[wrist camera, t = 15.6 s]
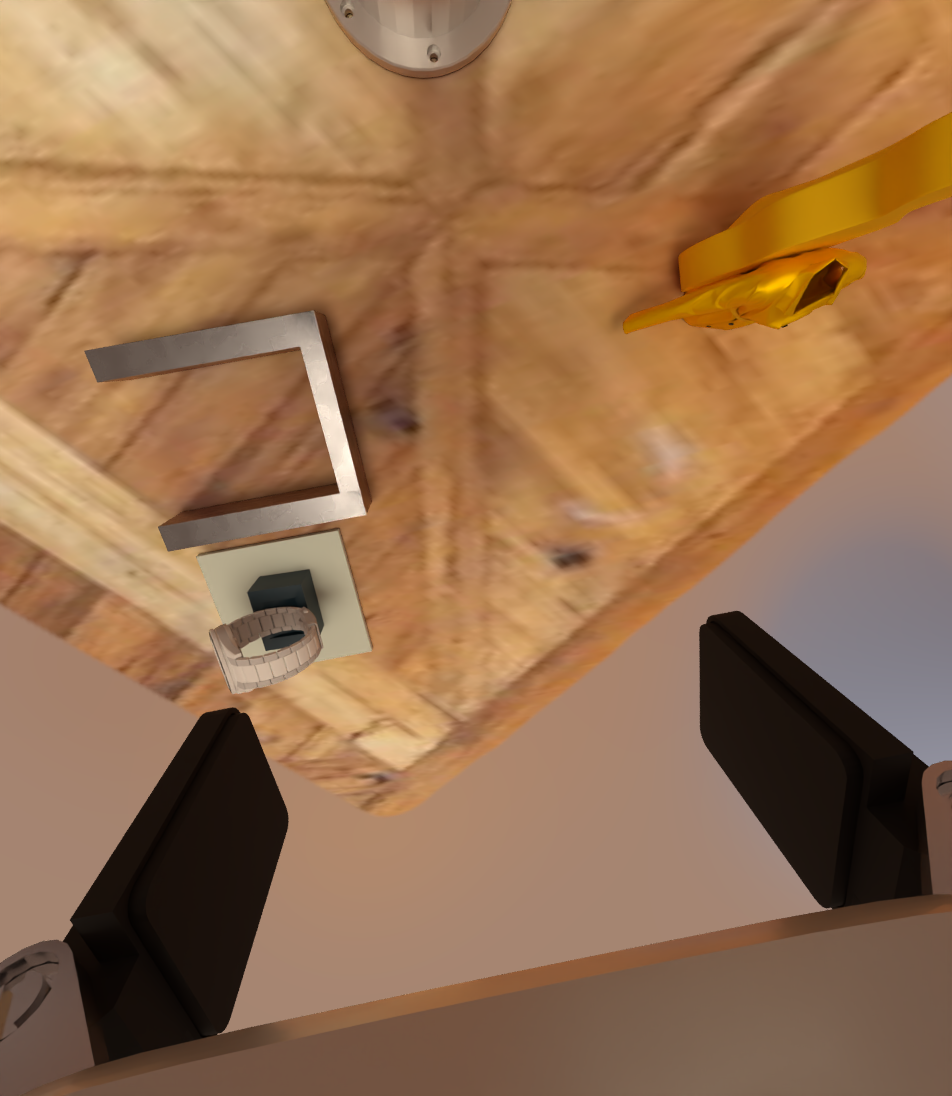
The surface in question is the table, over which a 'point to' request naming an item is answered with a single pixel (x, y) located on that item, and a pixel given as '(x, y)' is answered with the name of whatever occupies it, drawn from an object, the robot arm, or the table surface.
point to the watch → (272, 632)
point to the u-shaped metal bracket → (330, 401)
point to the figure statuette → (805, 238)
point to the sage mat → (315, 551)
